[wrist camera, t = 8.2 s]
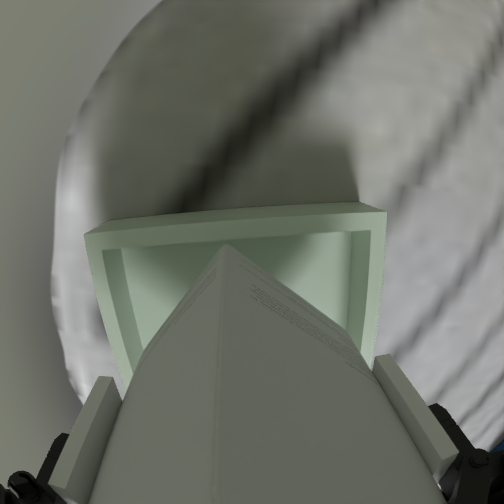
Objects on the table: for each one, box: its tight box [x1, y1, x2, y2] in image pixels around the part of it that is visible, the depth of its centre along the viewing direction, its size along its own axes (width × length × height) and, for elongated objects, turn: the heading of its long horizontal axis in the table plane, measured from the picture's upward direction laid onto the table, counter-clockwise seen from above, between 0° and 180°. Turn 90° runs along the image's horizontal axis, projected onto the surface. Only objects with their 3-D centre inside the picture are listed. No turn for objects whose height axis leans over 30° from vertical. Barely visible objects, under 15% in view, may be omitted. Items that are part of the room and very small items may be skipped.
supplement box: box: [88, 244, 447, 504], centre depth 10 cm, size 9×9×15 cm
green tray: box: [84, 202, 387, 391], centre depth 21 cm, size 17×22×4 cm
